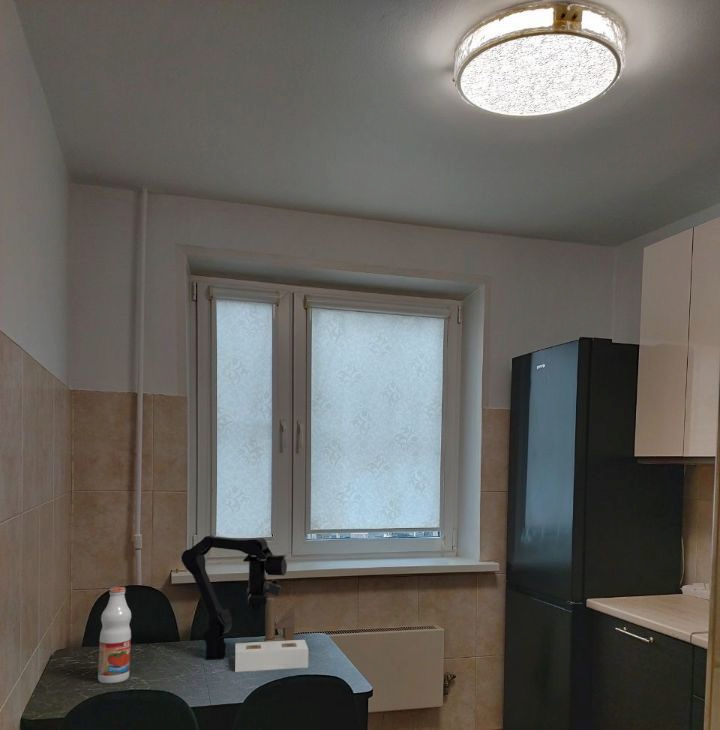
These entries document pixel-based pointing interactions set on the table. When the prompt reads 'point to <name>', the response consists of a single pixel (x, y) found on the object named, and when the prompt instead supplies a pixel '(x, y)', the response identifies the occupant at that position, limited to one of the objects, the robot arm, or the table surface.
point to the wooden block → (284, 623)
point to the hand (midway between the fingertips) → (256, 620)
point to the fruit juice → (115, 639)
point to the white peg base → (271, 656)
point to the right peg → (289, 645)
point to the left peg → (253, 647)
